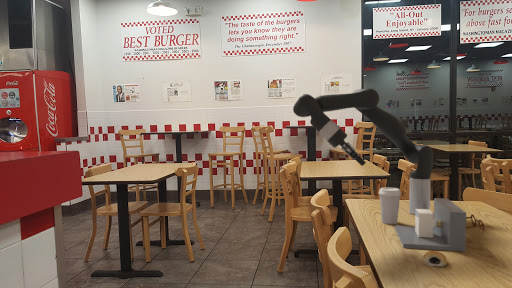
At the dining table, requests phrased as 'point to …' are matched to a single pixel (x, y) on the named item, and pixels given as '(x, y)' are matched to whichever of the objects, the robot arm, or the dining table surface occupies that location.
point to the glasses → (475, 223)
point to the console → (439, 229)
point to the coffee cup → (389, 204)
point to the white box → (424, 223)
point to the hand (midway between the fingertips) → (364, 164)
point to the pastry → (435, 259)
